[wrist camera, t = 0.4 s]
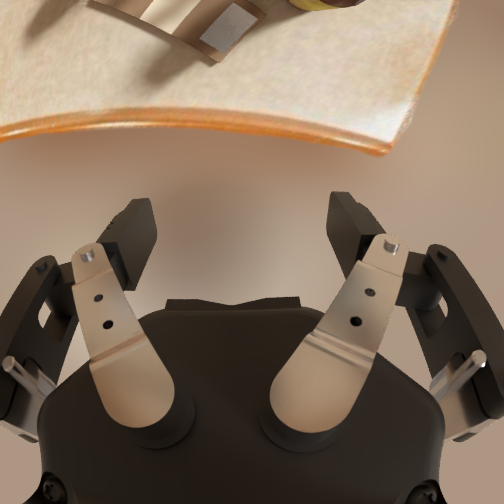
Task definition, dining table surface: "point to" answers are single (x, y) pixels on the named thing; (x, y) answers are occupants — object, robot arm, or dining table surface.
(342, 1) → the sauce bottle
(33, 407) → the robot arm
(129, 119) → the dining table surface
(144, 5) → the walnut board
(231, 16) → the silver rectangular block
